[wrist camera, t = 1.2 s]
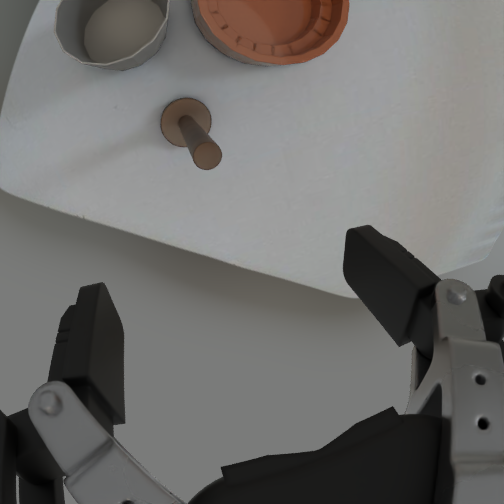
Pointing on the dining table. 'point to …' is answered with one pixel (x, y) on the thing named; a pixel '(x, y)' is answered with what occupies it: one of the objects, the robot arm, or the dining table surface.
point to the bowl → (271, 28)
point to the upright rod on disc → (191, 131)
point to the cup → (111, 31)
